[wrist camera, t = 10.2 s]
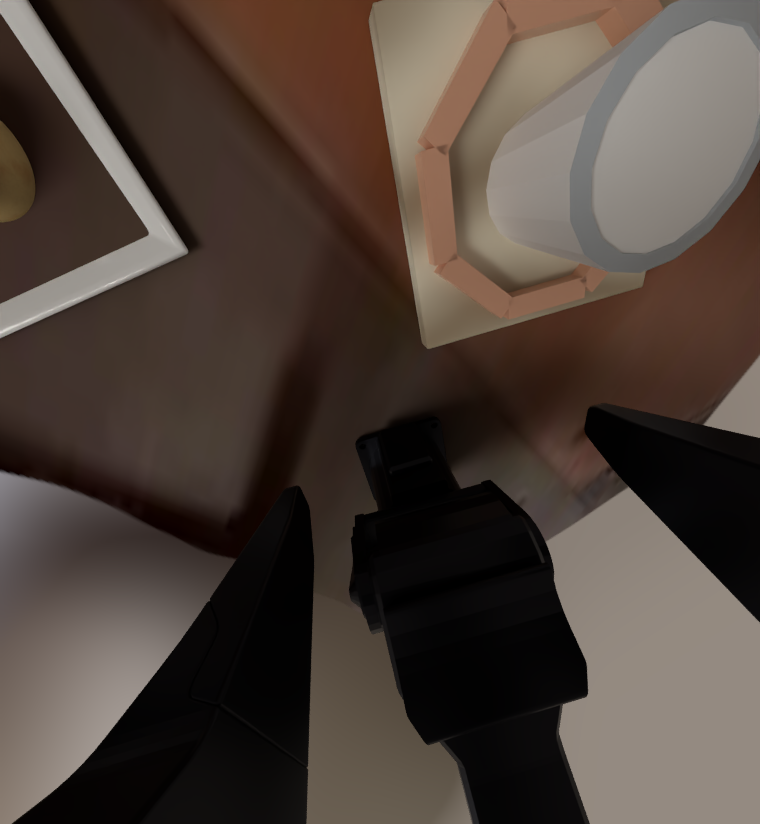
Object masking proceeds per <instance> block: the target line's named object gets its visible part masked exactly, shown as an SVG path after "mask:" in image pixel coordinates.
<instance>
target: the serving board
mask: <svg viewBox="0 0 760 824" xmlns="http://www.w3.org/2000/svg"><path fill="white" fill-rule="evenodd" d="M676 1H679V0H659V2H660V3H661V5H662V7H663V9H664V8H666V7H667V6H668V5H670V4H672V3H674V2H676ZM492 2H493V0H383V1H380V2H376V3H373V6H372V10H371V14H370V18H369V26H370V32H371V38H372V44H373V50H374V56H375V62H376V68H377V74H378V80H379V86H380V92H381V98H382V104H383V110H384V116H385V122H386V128H387V134H388V140H389V146H390V152H391V158H392V164H393V170H394V176H395V183H396V189H397V195H398V201H399V207H400V213H401V219H402V225H403V231H404V237H405V243H406V249H407V255H408V261H409V267H410V273H411V279H412V285H413V291H414V297H415V303H416V309H417V315H418V321H419V327H420V333H421V339H422V343H423V344H424V346H425V347H426V348H427V349H430V348H434V347H437V346H440V345H444V344H447V343H451V342H454V341H458V340H461V339H464V338H468V337H471V336H475V335H478V334H482V333H485V332H489V331H492V330H495V329H499V328H502V327H506V326H509V325H513V324H516V323H520V322H523V321H526V320H530V319H533V318H537V317H540V316H544V315H547V314H551V313H554V312H557V311H561V310H564V309H568V308H571V307H575V306H578V305H582V304H585V303H588V302H592V301H595V300H599V299H602V298H606V297H609V296H612V295H616V294H619V293H623V292H626V291H630V290H633V289H637V288H640V287H643V282H644V277H645V273H646V271H644V272H641V273H624V272H609V273H608V274H607V275H606V276H605V278H604V279H603V280H602V281H601V282H600V284H599V285H598V286H597V287H596V288H595V290H594V291H593V292H589V291H585V296H584V298H582V299H578V300H575V301H571V302H568V303H564V304H561V305H557V306H554V307H551V308H547V309H544V310H540V311H537V312H533V313H530V314H526V315H523V316H520V317H516V318H513V319H507V318H505V317H502V318H499V317H497V316H495V315H493V314H492V313H490V312H489V311H488V310H486V309H485V308H483V307H482V306H481V305H479V304H478V303H476V302H475V301H474V300H472V299H471V298H469V297H468V296H467V295H465V294H464V293H462V292H461V291H460V290H458V289H457V288H455V287H454V286H453V285H451V284H450V283H448V282H447V281H446V280H444V279H443V278H442V277H440V276H439V275H437V274H436V273H435V272H434V271H435V269H436V267H437V266H438V265H437V266H434V265H431V264H429V259H428V251H427V244H426V236H425V229H424V221H423V214H422V206H421V199H420V191H419V184H418V176H417V169H416V161H415V155H416V154H418V153H419V152H421V151H424V150H426V149H425V148H424V147H422V146H421V145H420V144H419V143H418V142H417V141H418V139H419V137H420V135H421V133H422V131H423V129H424V127H425V125H426V123H427V121H428V119H429V118H430V116H431V114H432V112H433V110H434V108H435V106H436V104H437V102H438V100H439V98H440V96H441V94H442V92H443V90H444V88H445V86H446V84H447V83H448V81H449V79H450V77H451V75H452V73H453V71H454V69H455V67H456V65H457V63H458V61H459V59H460V57H461V55H462V53H463V51H464V49H465V48H466V46H467V44H468V42H469V40H470V38H471V36H472V34H473V32H474V30H475V28H476V26H477V24H478V22H479V20H480V18H481V16H482V14H483V13H484V12H485V10H486V9H487V8H488V7H489V5H490V4H491V3H492ZM611 48H613V47H612V46H611V44H610V43H609V41H608V39H607V38H606V36H605V35H604V33H603V32H602V30H601V29H600V27H599V26H598V24H597V23H596V21H592V22H589V23H585V24H581V25H578V26H574V27H570V28H567V29H563V30H559V31H556V32H552V33H548V34H544V35H541V36H537V37H533V38H530V39H526V40H522V41H519V42H515V43H511V44H507V45H506V47H505V49H504V51H503V53H502V54H501V56H500V58H499V60H498V62H497V63H496V65H495V67H494V69H493V71H492V73H491V74H490V76H489V78H488V80H487V82H486V83H485V85H484V87H483V89H482V91H481V92H480V94H479V96H478V98H477V100H476V101H475V103H474V105H473V107H472V109H471V110H470V112H469V114H468V116H467V118H466V120H465V121H464V123H463V125H462V127H461V129H460V130H459V132H458V134H457V136H456V138H455V139H454V141H453V143H452V145H451V147H450V148H449V150H448V153H449V165H450V176H451V188H452V199H453V211H454V222H455V234H456V245H457V255H458V256H460V257H461V258H462V259H464V260H465V261H466V262H467V263H469V264H470V265H471V266H473V267H474V268H475V269H477V270H478V271H479V272H480V273H482V274H483V275H484V276H486V277H487V278H488V279H489V280H491V281H492V282H493V283H495V284H496V285H497V286H498V287H500V288H501V289H502V290H504V291H505V292H506V293H509V292H512V291H516V290H519V289H523V288H526V287H530V286H533V285H537V284H540V283H544V282H547V281H551V280H554V279H558V278H561V277H565V276H568V275H571V274H572V273H573V271H574V270H575V269H576V268H577V266H578V265H579V264H580V263H578V262H574V261H571V260H568V259H565V258H561V257H558V256H555V255H551V254H548V253H545V252H542V251H538V250H535V249H532V248H529V247H525V246H522V245H519V244H515V243H514V242H512V241H511V240H509V239H507V238H506V237H504V236H503V235H501V234H500V233H499V231H498V230H497V228H496V226H495V224H494V222H493V221H492V219H491V217H490V215H489V208H488V201H487V193H486V188H487V183H488V177H489V172H490V166H491V161H492V159H493V157H494V155H495V153H496V151H497V149H498V147H499V145H500V143H501V141H502V139H503V137H504V135H505V134H506V133H507V132H508V131H509V130H510V129H511V128H512V127H513V126H514V125H515V124H516V123H517V122H518V121H519V119H520V118H521V117H522V116H523V115H524V114H525V113H527V112H528V111H529V110H531V109H532V108H533V107H535V106H536V105H537V104H539V103H540V102H541V101H543V100H544V99H545V98H547V97H548V96H549V95H551V94H552V93H553V92H555V91H556V90H557V89H559V88H560V87H561V86H562V85H564V84H565V83H566V82H568V81H569V80H570V79H572V78H573V77H574V76H576V75H577V74H578V73H580V72H581V71H582V70H584V69H585V68H586V67H588V66H589V65H590V64H592V63H593V62H594V61H596V60H597V59H598V58H599V57H601V56H602V55H603V54H605V53H606V52H607V51H609V50H610V49H611Z"/></svg>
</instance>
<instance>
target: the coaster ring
mask: <svg viewBox="0 0 760 824" xmlns="http://www.w3.org/2000/svg"><path fill="white" fill-rule="evenodd" d="M662 10H663V7H662V5H661V3H660V2H659V0H493V2H492V3H491V4H490V5H489V7H488V8H487V9H486V10H485V12H484V13H483V14H482V16H481V18H480V20H479V22H478V24H477V26H476V28H475V30H474V32H473V34H472V36H471V38H470V40H469V42H468V44H467V46H466V48H465V49H464V51H463V53H462V55H461V57H460V59H459V61H458V63H457V65H456V67H455V69H454V71H453V73H452V75H451V77H450V79H449V81H448V83H447V84H446V86H445V88H444V90H443V92H442V94H441V96H440V98H439V100H438V102H437V104H436V106H435V108H434V110H433V112H432V114H431V116H430V118H429V119H428V121H427V123H426V125H425V127H424V129H423V131H422V133H421V135H420V137H419V139H418V141H417V142H418V143H419V144H420V145H421V146H422V147H424V148H425V149H426V150H424V151H421V152H419V153H418V154H416V155H415V161H416V169H417V176H418V184H419V191H420V199H421V206H422V214H423V221H424V229H425V236H426V244H427V251H428V259H429V264H431V265H434V266H437V265H438V266H437V267H436V269H435V271H434V272H435V273H436V274H437V275H439V276H440V277H442V278H443V279H444V280H446V281H447V282H448V283H450V284H451V285H453V286H454V287H455V288H457V289H458V290H460V291H461V292H462V293H464V294H465V295H467V296H468V297H469V298H471V299H472V300H474V301H475V302H476V303H478V304H479V305H481V306H482V307H483V308H485V309H486V310H488V311H489V312H490V313H492V314H493V315H495V316H497V317H499V318H502V317H505V318H507V319H513V318H516V317H520V316H523V315H526V314H530V313H533V312H537V311H540V310H544V309H547V308H551V307H554V306H557V305H561V304H564V303H568V302H571V301H575V300H578V299H582V298H584V296H585V291H589V292H593V291H594V290H595V288H596V287H597V286H598V285H599V284H600V282H601V281H602V280H603V279H604V278H605V276H606V275H607V274H608V273H609V272H607V271H604V270H601V269H597V268H594V267H591V266H588V265H584V264H581V263H580V264H579V265H578V266H577V268H576V269H575V270H574V271H573V273H572V274H571V275H568V276H565V277H561V278H558V279H554V280H551V281H547V282H544V283H540V284H537V285H533V286H530V287H526V288H523V289H519V290H516V291H512V292H509V293H506V292H505V291H504V290H502V289H501V288H500V287H498V286H497V285H496V284H495V283H493V282H492V281H491V280H489V279H488V278H487V277H486V276H484V275H483V274H482V273H480V272H479V271H478V270H477V269H475V268H474V267H473V266H471V265H470V264H469V263H467V262H466V261H465V260H464V259H462V258H461V257H460V256H458V255H457V245H456V234H455V222H454V211H453V199H452V188H451V176H450V165H449V153H448V150H449V148H450V147H451V145H452V143H453V141H454V139H455V138H456V136H457V134H458V132H459V130H460V129H461V127H462V125H463V123H464V121H465V120H466V118H467V116H468V114H469V112H470V110H471V109H472V107H473V105H474V103H475V101H476V100H477V98H478V96H479V94H480V92H481V91H482V89H483V87H484V85H485V83H486V82H487V80H488V78H489V76H490V74H491V73H492V71H493V69H494V67H495V65H496V63H497V62H498V60H499V58H500V56H501V54H502V53H503V51H504V49H505V47H506V45H507V44H511V43H515V42H519V41H522V40H526V39H530V38H533V37H537V36H541V35H544V34H548V33H552V32H556V31H559V30H563V29H567V28H570V27H574V26H578V25H581V24H585V23H589V22H592V21H596V23H597V24H598V26H599V27H600V29H601V30H602V32H603V33H604V35H605V36H606V38H607V39H608V41H609V43H610V44H611V46H612V47H614V46H615V45H617V44H618V43H619V42H621V41H622V40H623V39H625V38H626V37H627V36H629V35H630V34H631V33H633V32H634V31H635V30H637V29H638V28H639V27H640V26H642V25H643V24H644V23H646V22H647V21H648V20H650V19H651V18H652V17H654V16H655V15H656V14H658V13H659V12H660V11H662Z"/></svg>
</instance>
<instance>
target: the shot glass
mask: <svg viewBox="0 0 760 824" xmlns="http://www.w3.org/2000/svg"><path fill="white" fill-rule="evenodd" d="M759 160H760V0H679V1H676V2H674V3H672V4H670V5H668V6H667V7H666V8H664V9H663V10H662V11H660V12H659V13H658V14H656V15H655V16H654V17H652V18H651V19H650V20H648V21H647V22H646V23H644V24H643V25H642V26H640V27H639V28H638V29H637V30H635V31H634V32H633V33H631V34H630V35H629V36H627V37H626V38H625V39H623V40H622V41H621V42H619V43H618V44H617V45H615V46H614V47H613V48H611V49H610V50H609V51H607V52H606V53H605V54H603V55H602V56H601V57H599V58H598V59H597V60H596V61H594V62H593V63H592V64H590V65H589V66H588V67H586V68H585V69H584V70H582V71H581V72H580V73H578V74H577V75H576V76H574V77H573V78H572V79H570V80H569V81H568V82H566V83H565V84H564V85H562V86H561V87H560V88H559V89H557V90H556V91H555V92H553V93H552V94H551V95H549V96H548V97H547V98H545V99H544V100H543V101H541V102H540V103H539V104H537V105H536V106H535V107H533V108H532V109H531V110H529V111H528V112H527V113H525V114H524V115H523V116H522V117H521V118H520V119H519V121H518V122H517V123H516V124H515V125H514V126H513V127H512V128H511V129H510V130H509V131H508V132H507V133H506V134H505V135H504V137H503V139H502V141H501V143H500V145H499V147H498V149H497V151H496V153H495V155H494V157H493V159H492V161H491V166H490V172H489V177H488V183H487V188H486V193H487V201H488V208H489V215H490V217H491V219H492V221H493V222H494V224H495V226H496V228H497V230H498V231H499V233H500V234H501V235H503V236H504V237H506V238H507V239H509V240H511V241H512V242H514V243H515V244H519V245H522V246H525V247H529V248H532V249H535V250H538V251H542V252H545V253H548V254H551V255H555V256H558V257H561V258H565V259H568V260H571V261H574V262H578V263H581V264H584V265H588V266H591V267H594V268H597V269H601V270H604V271H607V272H624V273H641V272H644V271H646V270H649V269H651V268H654V267H656V266H659V265H661V264H663V263H666V262H668V261H671V260H673V259H675V258H677V257H678V256H679V255H680V254H682V253H683V252H684V251H685V250H687V249H688V248H689V247H691V246H692V245H693V244H694V243H696V242H697V241H698V240H699V239H701V238H702V237H703V236H704V235H706V234H707V233H708V232H709V231H711V230H712V228H713V227H714V226H715V225H716V223H717V222H718V221H719V220H720V218H721V217H722V216H723V215H724V213H725V212H726V211H727V210H728V209H729V207H730V206H731V205H732V204H733V202H734V201H735V200H736V199H737V197H738V196H739V195H740V194H741V193H742V191H743V190H744V189H745V187H746V185H747V183H748V181H749V179H750V177H751V175H752V173H753V171H754V170H755V168H756V166H757V164H758V162H759Z"/></svg>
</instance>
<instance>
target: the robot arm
mask: <svg viewBox="0 0 760 824" xmlns="http://www.w3.org/2000/svg"><path fill="white" fill-rule="evenodd" d="M432 423H435V425H431V424H432ZM584 430H585V433H586V435H587V437H588V438H589V439H590V441H591V442H592V443H593V445H594V446H595V447H596V448H597V450H598V451H599V452H600V453H601V455H602V456H603V457H604V458H605V460H606V461H607V462H608V463H609V465H610V466H611V467H612V469H613V470H614V471H615V472H616V473H617V475H618V476H619V477H620V478H621V479H622V480H623V481H624V482H625V483H626V484H627V485H628V486H629V487H630V488H631V489H632V490H633V491H634V493H636V495H637V496H638V497H639V498H640V499H641V500H642V501H643V502H644V503H645V504H646V505H647V506H648V507H649V508H650V509H651V510H652V511H653V512H654V513H655V514H656V515H657V516H658V517H659V518H660V519H661V521H662V522H663V523H664V524H665V525H666V526H668V528H669V529H670V530H671V531H672V532H673V533H674V534H675V535H676V536H677V537H678V538H679V539H680V540H681V541H682V542H683V543H684V544H685V545H686V546H687V547H688V549H689V550H690V551H691V552H692V553H693V554H694V555H695V556H696V557H697V558H698V559H699V560H700V561H701V562H702V563H703V564H704V565H705V566H706V567H707V568H708V569H709V570H710V571H711V572H712V573H713V574H714V575H715V576H716V578H717V579H719V580H720V582H721V583H722V584H723V585H724V586H725V587H726V588H727V589H728V590H729V591H730V592H731V593H732V594H733V595H734V596H735V597H736V598H737V599H738V600H739V601H740V602H741V603H742V604H743V606H744V607H745V608H746V609H747V610H748V611H749V612H750V613H751V614H752V615H753V616H754V617H755V618H756V619H757V620H758V621H759V622H760V438H757V437H753V436H748V435H744V434H739V433H735V432H731V431H726V430H722V429H717V428H712V427H708V426H704V425H700V424H695V423H691V422H686V421H682V420H677V419H673V418H669V417H664V416H660V415H655V414H651V413H647V412H642V411H638V410H633V409H629V408H624V407H620V406H616V405H611V404H607V403H601V404H597V405H594V406H591V407H590V408H589V409H588V411H587V416H586V422H585V427H584ZM355 444H356V450H357V452H358V455H359V458H360V461H361V464H362V466H363V469H364V472H365V475H366V478H367V480H368V483H369V486H370V489H371V491H372V494H373V497H374V499H375V500H376V502H377V507H378V511H377V512H373V513H369V514H366V515H364V514H359V515H355V527H353V536H352V537H351V544H352V553H353V567H352V573H351V580H350V586H349V593H350V598H351V601H352V602H353V603H354V604H356V605H357V606H358V607H360V608H361V609H362V612H363V615H364V617H365V618H366V619H367V623H368V626H369V629H370V631H371V633H372V634H376V633H380V632H383V631H384V633H385V637H386V641H387V646H388V650H389V655H390V659H391V663H392V667H393V671H394V676H395V680H396V685H397V689H398V691H399V694H400V695H401V697H402V699H403V700H404V704H405V709H406V713H407V716H408V718H409V720H410V722H411V723H412V724H413V726H414V727H415V729H416V730H417V732H418V733H419V735H420V736H421V738H422V739H423V741H424V742H425V743H426V744H427V745H430V744H434V743H437V742H440V743H441V744H442V746H443V747H444V748H445V749H446V750H447V751H448V753H449V754H450V755H451V756H452V757H453V759H454V760H455V761H456V762H457V765H458V769H459V773H460V777H461V781H462V785H463V789H464V793H465V797H466V801H467V804H468V808H469V813H470V816H471V820H472V824H590V823H589V820H588V817H587V815H586V812H585V809H584V806H583V803H582V800H581V797H580V795H579V792H578V789H577V786H576V783H575V781H574V778H573V774H572V772H571V769H570V766H569V763H568V760H567V757H566V754H565V751H564V748H563V745H562V742H561V739H560V735H559V727H560V720H561V713H562V706H563V704H565V703H568V702H572V701H575V700H578V699H582V698H585V697H586V696H587V694H588V681H587V665H586V661H585V658H584V656H583V654H582V652H581V649H580V648H579V645H578V643H577V641H576V638H575V636H574V634H573V632H572V630H571V628H570V625H569V623H568V621H567V618H566V616H565V614H564V611H563V608H562V605H561V603H560V600H559V597H558V594H557V591H556V587H555V583H554V569H553V563H552V559H551V555H550V553H549V550H548V547H547V545H546V542H545V540H544V538H543V536H542V534H541V532H540V531H539V529H538V527H537V526H536V524H535V523H534V521H533V520H532V519H531V517H530V516H529V515H528V514H527V513H526V512H525V511H524V510H523V509H522V508H521V507H520V506H518V505H517V504H516V503H515V502H514V501H513V500H512V499H511V498H510V497H509V496H508V495H506V494H505V493H504V492H503V491H502V490H501V489H500V488H499V487H498V486H497V485H496V484H494V483H493V482H492V481H491V480H487V481H483V482H481V484H478V485H474V486H471V487H467V488H463V489H461V488H460V486H459V484H458V483H457V481H456V479H455V477H454V475H453V473H452V472H451V470H450V468H449V466H448V464H447V460H446V454H445V447H444V441H443V435H442V428H441V423H440V421H439V419H438V418H437V417H431V418H427V419H424V420H420V421H417V422H414V423H409V424H405V425H402V426H399V427H395V428H392V429H389V430H385V431H382V432H380V433H376V434H373V435H370V436H366V437H363V438H360V439H358V440H357V441H356V443H355ZM361 444H365V445H364V446H360V445H361ZM313 583H314V553H313V542H312V530H311V518H310V509H309V505H308V503H307V501H306V498H305V496H304V494H303V492H302V490H301V488H300V487H299V486H293V487H289V488H286V489H284V491H283V492H282V493H281V495H280V496H279V498H278V499H277V501H276V502H275V504H274V505H273V507H272V508H271V509H270V511H269V512H268V514H267V515H266V517H265V518H264V520H263V521H262V523H261V524H260V526H259V527H258V529H257V530H256V532H255V533H254V534H253V536H252V537H251V539H250V540H249V542H248V543H247V545H246V546H245V548H244V549H243V551H242V552H241V554H240V555H239V556H238V558H237V559H236V561H235V562H234V564H233V566H232V567H231V568H230V570H229V571H228V573H227V574H226V576H225V577H224V579H223V580H222V581H221V583H220V584H219V586H218V587H217V589H216V590H215V592H214V593H213V595H212V596H211V598H210V601H208V602H207V603H206V605H205V606H204V608H203V609H202V611H201V612H200V614H199V615H198V617H197V618H196V619H195V621H194V622H193V624H192V625H191V626H190V628H189V629H188V631H187V632H186V633H185V635H184V636H183V638H182V639H181V641H180V642H179V643H178V645H177V646H176V647H175V649H174V650H173V651H172V653H171V654H170V655H169V656H168V658H167V659H166V660H165V662H164V663H163V664H162V666H161V667H160V668H159V670H158V671H157V672H156V673H155V675H154V676H153V677H152V679H151V680H150V681H149V682H148V684H147V685H146V686H145V687H144V689H143V690H142V691H141V693H140V694H139V695H138V697H137V698H136V699H135V700H134V702H133V703H132V704H131V705H130V707H129V708H128V709H127V710H126V712H125V713H124V714H123V716H122V717H121V718H120V720H119V721H118V722H117V723H116V725H115V726H114V727H113V728H112V730H111V731H110V732H109V733H108V735H107V736H106V737H105V739H104V740H103V741H102V742H101V743H100V745H99V746H98V747H97V749H95V751H94V752H93V753H92V754H91V755H90V756H89V758H88V759H87V760H86V761H85V762H84V763H83V764H82V765H81V766H80V767H79V768H78V769H77V770H76V771H75V772H74V773H73V774H72V775H71V776H70V777H69V778H68V779H67V780H66V781H65V782H63V783H62V784H61V785H60V786H59V787H58V788H57V789H55V790H54V791H53V792H52V793H51V794H50V795H48V796H47V797H46V798H44V799H43V800H42V801H40V802H39V803H38V804H37V805H35V806H34V807H33V808H31V809H30V810H29V811H27V812H26V813H25V814H24V815H22V816H21V817H20V818H18V819H17V820H16V821H15V822H13V823H12V824H306V819H307V786H308V785H307V783H308V769H307V767H308V747H309V714H310V682H311V649H312V648H311V647H312V614H313Z"/></svg>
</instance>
